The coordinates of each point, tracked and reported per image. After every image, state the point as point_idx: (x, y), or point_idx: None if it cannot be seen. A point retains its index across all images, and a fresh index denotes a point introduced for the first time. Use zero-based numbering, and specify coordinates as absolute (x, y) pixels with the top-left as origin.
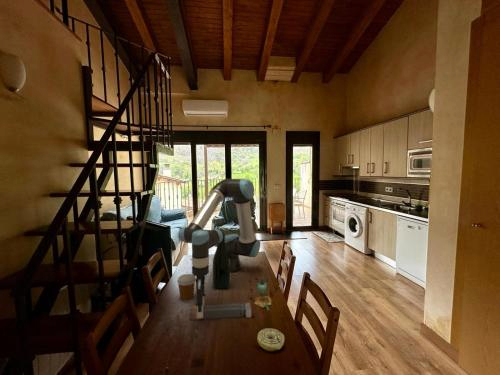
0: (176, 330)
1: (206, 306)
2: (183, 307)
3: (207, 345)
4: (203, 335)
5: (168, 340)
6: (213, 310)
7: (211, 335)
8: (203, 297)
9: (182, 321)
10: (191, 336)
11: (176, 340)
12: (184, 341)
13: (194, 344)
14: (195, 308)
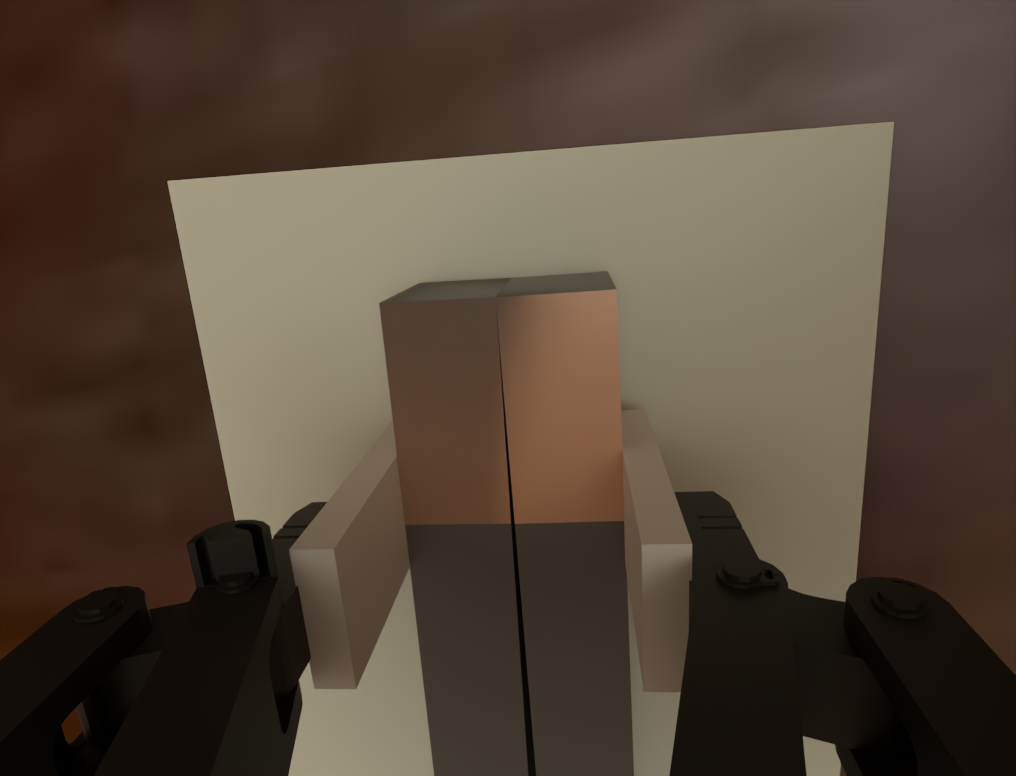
0: (228, 103)
1: (581, 613)
2: (919, 46)
3: (17, 569)
4: (168, 511)
5: (7, 39)
6: (440, 733)
7: (179, 602)
8: (648, 680)
9: (455, 146)
10: (131, 363)
11: (28, 167)
12: (29, 287)
13: (4, 424)
14: (515, 408)
